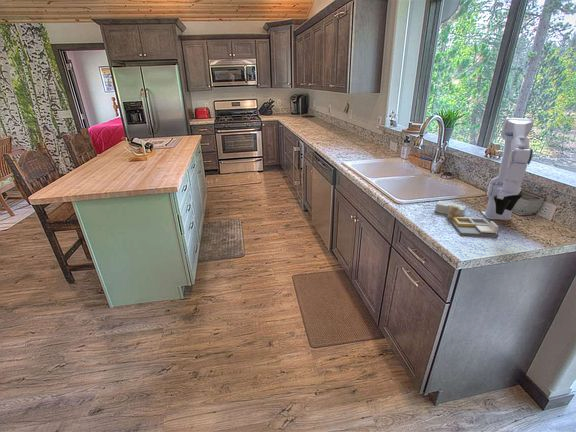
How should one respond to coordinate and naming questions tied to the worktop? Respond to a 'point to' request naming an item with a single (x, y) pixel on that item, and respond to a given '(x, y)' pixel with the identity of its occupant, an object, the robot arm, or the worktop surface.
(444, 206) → the skincare box
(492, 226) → the cover
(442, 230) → the worktop surface
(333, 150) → the worktop surface
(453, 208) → the beige small block
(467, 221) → the board
